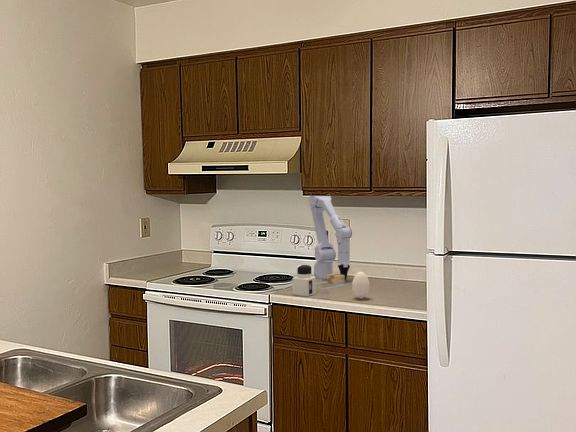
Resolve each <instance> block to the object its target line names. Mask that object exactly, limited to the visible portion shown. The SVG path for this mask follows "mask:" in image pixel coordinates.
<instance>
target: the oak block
mask: <svg viewBox="0 0 576 432" xmlns="http://www.w3.org/2000/svg"><path fill="white" fill-rule="evenodd" d="M326 281H327V283H330V284H329V285H333V284H335V285H334V286H338V285H337V284H343V283H345V281H346V280H345V275H342V274H340V273H333V274H329V275H327V279H326ZM327 283H326V284H327Z"/></svg>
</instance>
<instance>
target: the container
mask: <svg viewBox="0 0 576 432" xmlns="http://www.w3.org/2000/svg"><path fill="white" fill-rule="evenodd" d="M316 283H317V277H314V275H313V276H312V266H311V265H308V264H299V265H297V266H296V276H294V277H292V295H293V296H299V297H300V296H302V297H310V296H312V295H316V293H317V288H316V287H317V284H316Z"/></svg>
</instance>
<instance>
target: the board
mask: <svg viewBox="0 0 576 432" xmlns="http://www.w3.org/2000/svg"><path fill="white" fill-rule="evenodd" d="M352 283H353V282H350V281H346V280H345V283H343V284H337V285H335V284H332V285H333V286H330V287H329V286H328V287H318V286H316V289H322V290H329V289H335V288H339V287H345V286H350V285H351V286H352ZM319 284H328V285H331V284H330V283H327V280H326V281H319V282H316V285H319Z"/></svg>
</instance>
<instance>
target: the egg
mask: <svg viewBox="0 0 576 432" xmlns="http://www.w3.org/2000/svg"><path fill="white" fill-rule="evenodd" d="M351 283H352V284H351V289H352V293H353V295H354V297H356V298H357V299H360V300H361V299H362V300H363V299H365V298H366V297H367V296H368V295H369V292H370V289H371V288H370V281H369V277H368V276H367V274H366V273H365V272H363V271H358V272H357V273H356V274H355V275H354V277H353V280H352V282H351Z"/></svg>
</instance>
